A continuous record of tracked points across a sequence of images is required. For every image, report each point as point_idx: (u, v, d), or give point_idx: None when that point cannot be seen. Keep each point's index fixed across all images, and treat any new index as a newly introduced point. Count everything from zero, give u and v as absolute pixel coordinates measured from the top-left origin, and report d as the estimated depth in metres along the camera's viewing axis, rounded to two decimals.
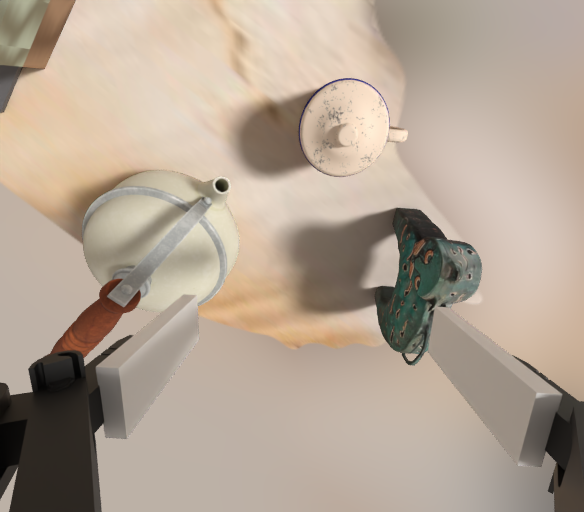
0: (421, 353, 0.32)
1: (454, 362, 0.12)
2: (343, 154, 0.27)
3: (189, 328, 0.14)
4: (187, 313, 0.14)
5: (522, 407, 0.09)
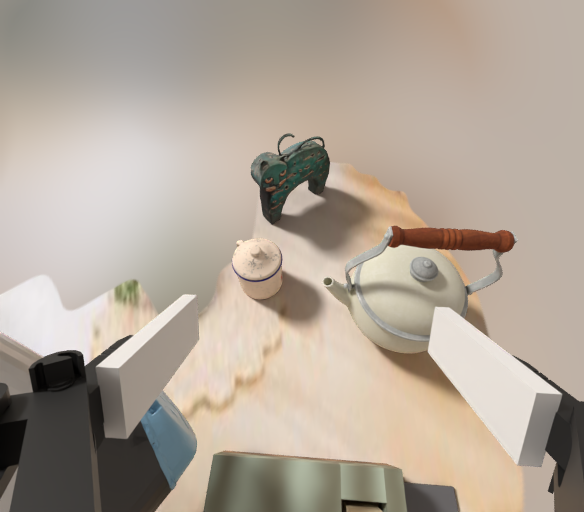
0: (308, 139, 0.55)
1: (454, 362, 0.12)
2: (264, 247, 0.48)
3: (189, 328, 0.14)
4: (187, 313, 0.14)
5: (522, 407, 0.09)
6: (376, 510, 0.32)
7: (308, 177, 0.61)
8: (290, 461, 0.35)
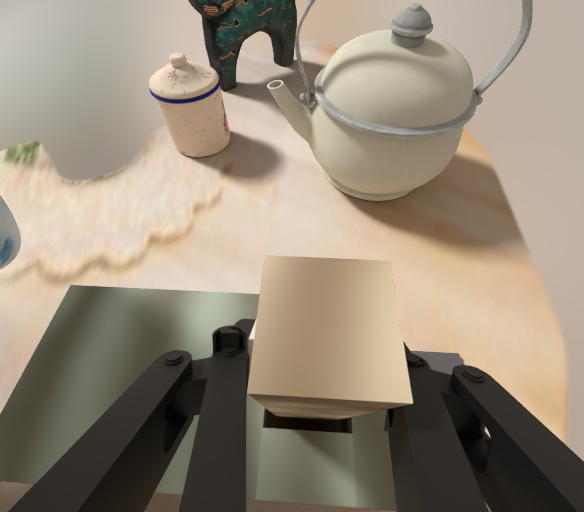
0: None
1: None
2: (193, 62, 0.35)
3: None
4: None
5: None
6: None
7: (267, 20, 0.47)
8: (194, 292, 0.21)
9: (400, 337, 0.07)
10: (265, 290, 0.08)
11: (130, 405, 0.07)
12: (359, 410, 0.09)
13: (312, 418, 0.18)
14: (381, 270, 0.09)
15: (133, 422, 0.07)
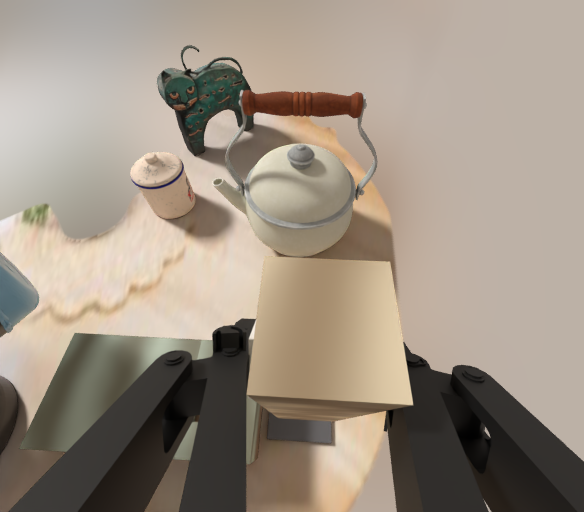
0: (219, 58, 0.54)
1: None
2: (162, 156, 0.48)
3: None
4: None
5: None
6: None
7: (227, 104, 0.60)
8: (151, 338, 0.34)
9: (400, 338, 0.07)
10: (264, 290, 0.08)
11: (130, 405, 0.07)
12: (359, 411, 0.09)
13: None
14: (381, 271, 0.08)
15: (133, 422, 0.07)
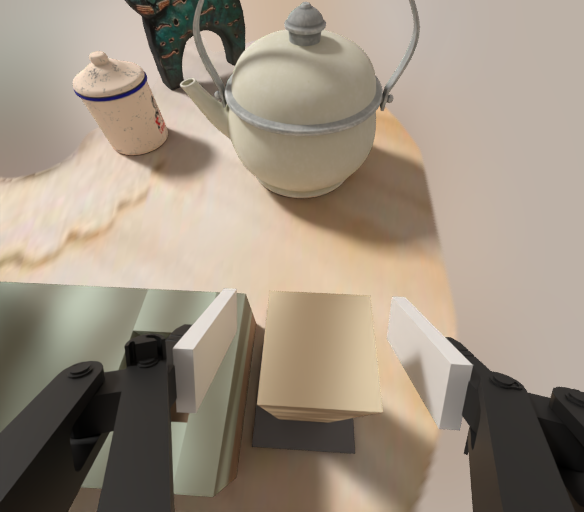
0: None
1: (403, 345, 0.14)
2: (116, 60, 0.35)
3: (231, 319, 0.15)
4: (231, 305, 0.15)
5: (443, 378, 0.10)
6: None
7: (210, 19, 0.48)
8: (70, 286, 0.22)
9: (375, 359, 0.09)
10: (270, 320, 0.10)
11: (27, 427, 0.07)
12: (346, 415, 0.11)
13: (310, 420, 0.20)
14: (363, 303, 0.11)
15: (32, 444, 0.06)
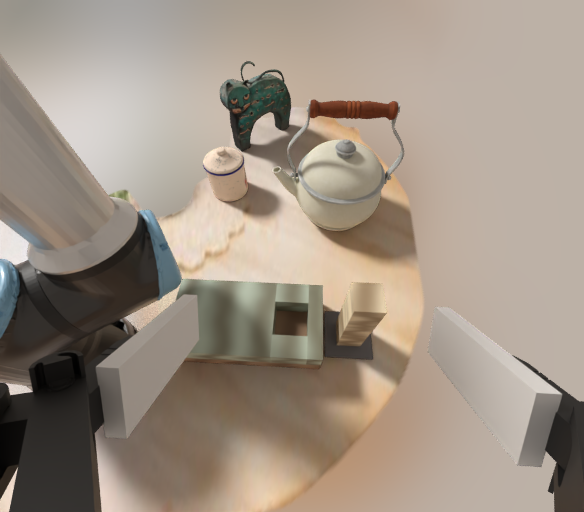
0: (268, 71, 0.67)
1: (454, 362, 0.12)
2: (228, 150, 0.60)
3: (189, 328, 0.14)
4: (187, 313, 0.14)
5: (522, 407, 0.09)
6: None
7: (271, 107, 0.72)
8: (239, 282, 0.46)
9: (384, 300, 0.34)
10: (353, 290, 0.35)
11: None
12: (375, 322, 0.36)
13: (353, 341, 0.45)
14: (380, 286, 0.35)
15: None
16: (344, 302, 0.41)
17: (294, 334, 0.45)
